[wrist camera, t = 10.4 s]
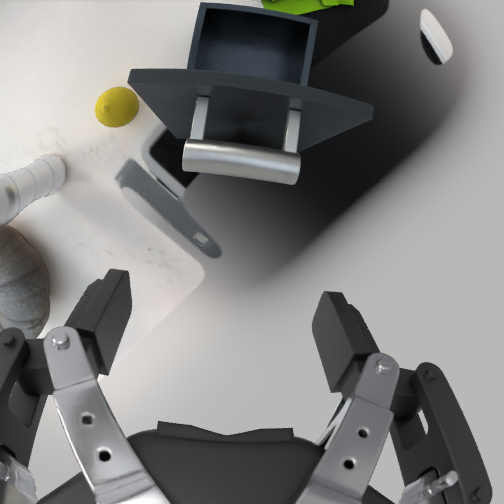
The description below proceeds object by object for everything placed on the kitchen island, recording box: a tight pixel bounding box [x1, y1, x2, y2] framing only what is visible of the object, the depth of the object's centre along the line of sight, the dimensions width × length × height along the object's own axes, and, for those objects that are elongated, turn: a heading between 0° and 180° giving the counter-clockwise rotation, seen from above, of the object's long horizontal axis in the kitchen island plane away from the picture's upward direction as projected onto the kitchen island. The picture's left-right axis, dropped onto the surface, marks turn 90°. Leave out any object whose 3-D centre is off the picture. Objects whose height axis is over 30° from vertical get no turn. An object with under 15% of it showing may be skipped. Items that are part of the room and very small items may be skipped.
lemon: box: [95, 87, 139, 127], centre depth 30 cm, size 6×6×8 cm
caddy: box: [187, 2, 318, 86], centre depth 29 cm, size 16×13×10 cm
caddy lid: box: [128, 69, 374, 185], centre depth 20 cm, size 16×13×5 cm
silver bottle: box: [0, 154, 66, 226], centre depth 27 cm, size 6×7×20 cm
